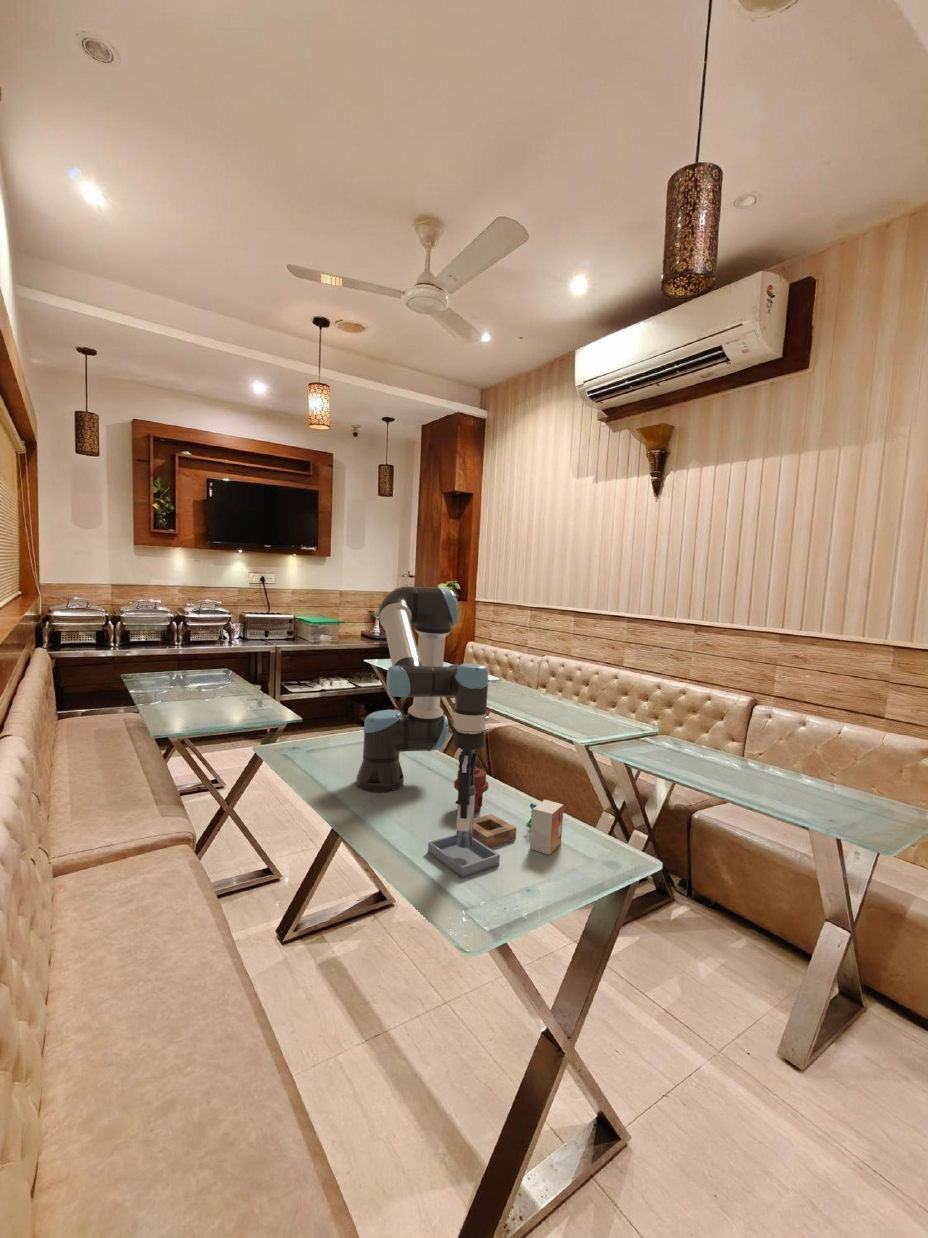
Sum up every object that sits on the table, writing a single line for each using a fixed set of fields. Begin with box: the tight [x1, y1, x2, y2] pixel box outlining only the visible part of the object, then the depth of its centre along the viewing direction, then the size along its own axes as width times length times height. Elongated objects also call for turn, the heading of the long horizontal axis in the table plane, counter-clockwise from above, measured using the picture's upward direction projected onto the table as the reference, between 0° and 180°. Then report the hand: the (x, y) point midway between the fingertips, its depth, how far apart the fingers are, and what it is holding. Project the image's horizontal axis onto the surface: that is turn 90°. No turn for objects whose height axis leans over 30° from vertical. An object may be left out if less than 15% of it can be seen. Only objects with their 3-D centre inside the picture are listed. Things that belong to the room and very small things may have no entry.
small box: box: [529, 799, 565, 855], centre depth 139 cm, size 8×6×10 cm
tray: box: [427, 833, 501, 879], centre depth 131 cm, size 14×11×2 cm
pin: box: [455, 785, 475, 848], centre depth 131 cm, size 4×4×14 cm
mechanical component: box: [453, 766, 489, 812], centre depth 160 cm, size 12×10×10 cm
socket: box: [473, 813, 517, 849], centre depth 144 cm, size 10×10×3 cm
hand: (464, 825), depth 131 cm, fingers closed on pin, 4 cm apart
